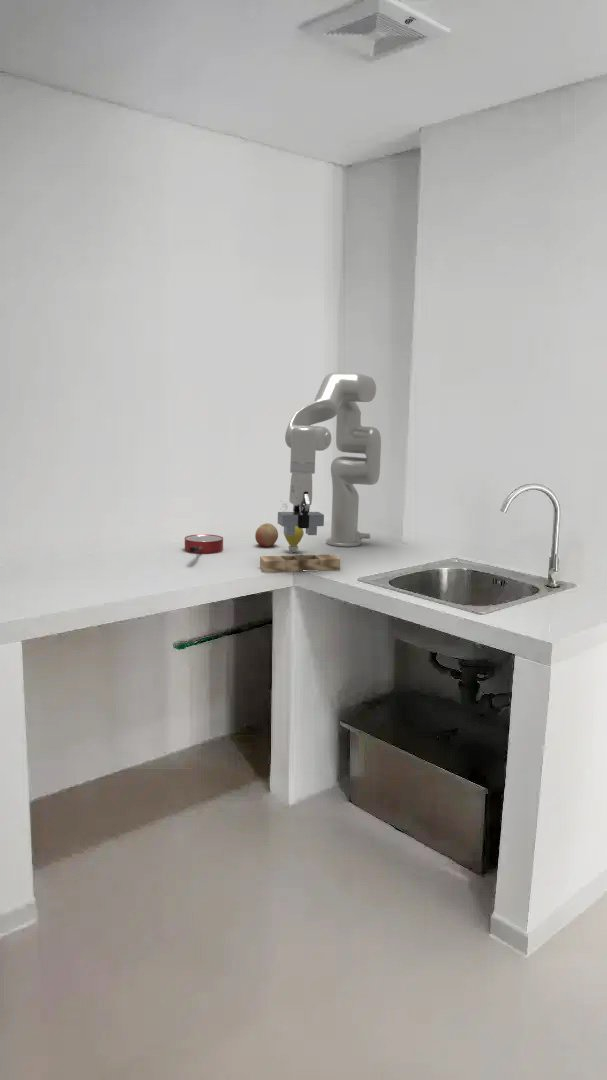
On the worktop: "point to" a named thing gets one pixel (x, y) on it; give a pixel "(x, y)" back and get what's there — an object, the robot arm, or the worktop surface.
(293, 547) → the light bulb
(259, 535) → the fruit
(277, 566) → the light brown long block
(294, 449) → the robot arm
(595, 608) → the worktop surface
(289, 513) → the brushed steel slab
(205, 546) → the frying pan
